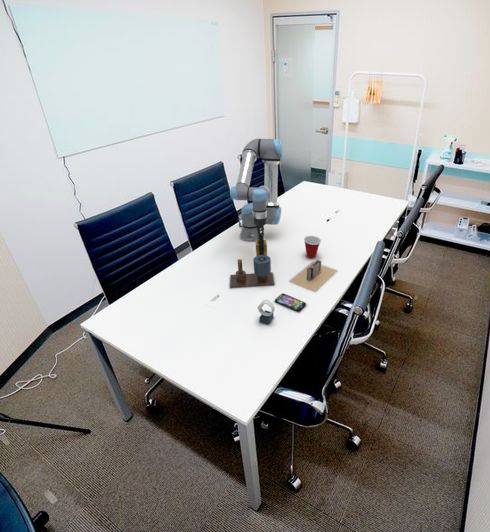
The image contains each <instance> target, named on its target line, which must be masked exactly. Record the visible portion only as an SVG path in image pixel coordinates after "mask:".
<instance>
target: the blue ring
mask: <svg viewBox="0 0 490 532" xmlns="http://www.w3.org/2000/svg"><path fill="white" fill-rule="evenodd" d="M260 258H264V261H260ZM252 260H253V273H255V274H256V275H258V276H266V275H268V274H270V272H272V261H271V257H270V256H269V255H268V254H267V255H258V256H256V255H255V256H254V257H253V259H252Z"/></svg>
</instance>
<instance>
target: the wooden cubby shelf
mask: <svg viewBox="0 0 490 532" xmlns="http://www.w3.org/2000/svg"><path fill="white" fill-rule="evenodd" d="M254 242H255V256H258V255H259V247H258V246H259V240H255V241H254ZM264 255H267V256H268V243H267V239H264Z"/></svg>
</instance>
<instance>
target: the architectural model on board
mask: <svg viewBox="0 0 490 532" xmlns="http://www.w3.org/2000/svg"><path fill="white" fill-rule="evenodd" d="M336 272H337V270H335V269H332V268H330V267H326V266H323V265H322V260H319V259H317V260H315V261H314V262H311V263H310V264H309V265H308V266H307V267H305V268H304V269H303V270H301V272H299V273H298V274H297V275H296V276H294V277H293V278H292V279H291V280H289V282H291V283H292V284H295V285H297V286H300V287H302V288H305V289H308V290H310V291H312V292H316V291H317V290H318V289H319V288H320V287H322V286H323V284H324V283H326V282H327V281H328V280H329V279H330V278H331V277H332V276H333V275H334V274H335V273H336Z"/></svg>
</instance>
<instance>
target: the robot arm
mask: <svg viewBox="0 0 490 532" xmlns="http://www.w3.org/2000/svg"><path fill="white" fill-rule="evenodd" d="M241 152H242V153H241V158H242V159H241V163H240V167H239V170H238V176H237V178H236V179H237V180H236V183H235V186H231V187H230V190H229V195H230V198H231V200H232V201H233V200H234V201H249V203H245V204H243V205H242V207H241V211H240V212H241V213H240V214H241V221H240V220H239V219H236V222H238V223H239V227H241V231H240V239H242V240H243V241H245V242H255V240H259V246H258V247H259V255H264V240H265V238H264V235H265V226H266V225H271V226H272V225H273V226H274V225H279V223H280V221H281V217H282V207H281V206H280V204H279V203H278V179H279V178H278V177H279V164H280V163H281V160H282V159H283V158H284V150H283V144H282V140H281V139H278V138H254V139H252V140H250V141H249V142H247V144H246V145H245V146H244V147H243V150H242V151H241ZM257 159H262V160H261V162H262V163H263V164H264V185H260V186H259V187H255V186H254V187H252V186H251V187H250V184H251V180H252V174H253V170H254V165H255V162H256V161H257ZM241 224H242V225H241Z"/></svg>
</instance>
